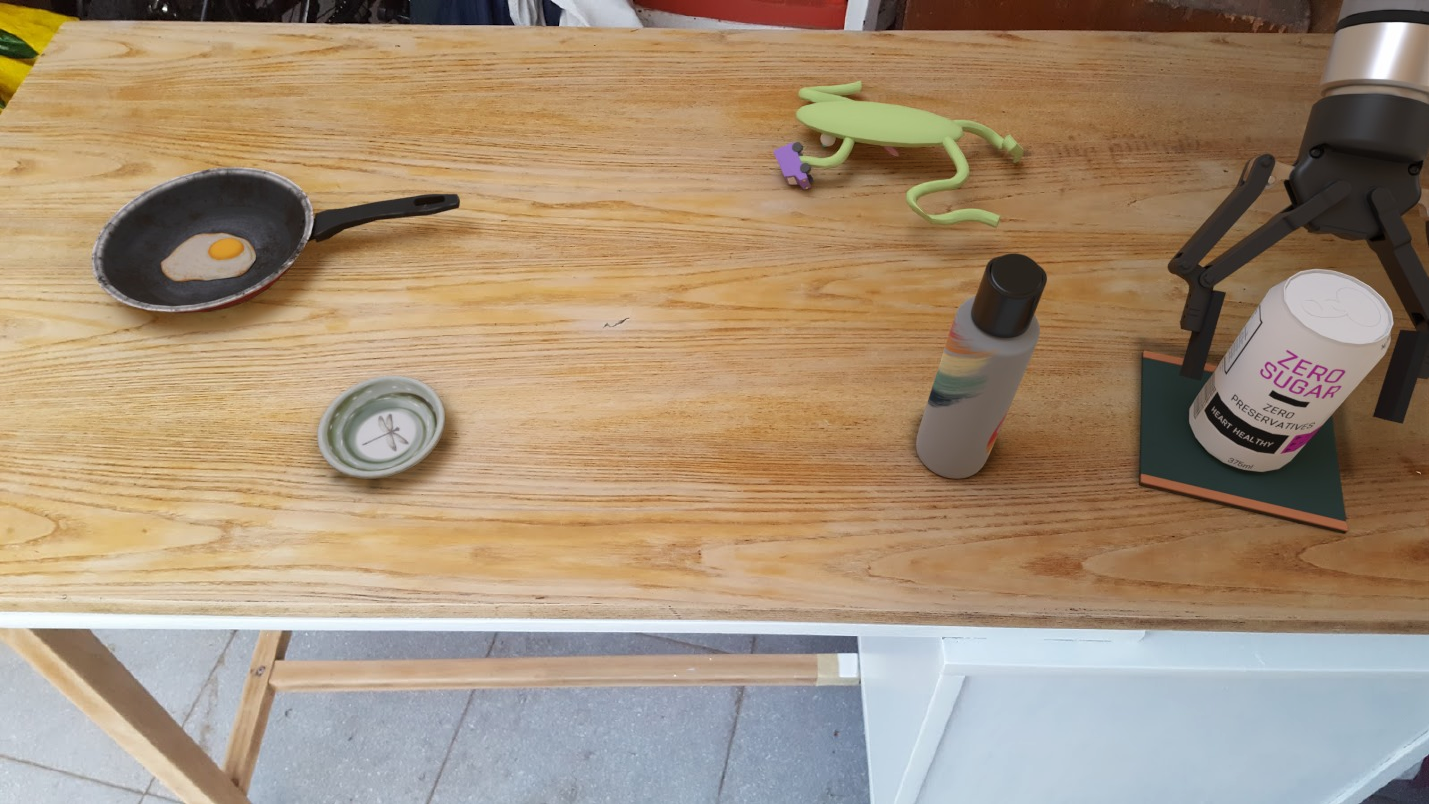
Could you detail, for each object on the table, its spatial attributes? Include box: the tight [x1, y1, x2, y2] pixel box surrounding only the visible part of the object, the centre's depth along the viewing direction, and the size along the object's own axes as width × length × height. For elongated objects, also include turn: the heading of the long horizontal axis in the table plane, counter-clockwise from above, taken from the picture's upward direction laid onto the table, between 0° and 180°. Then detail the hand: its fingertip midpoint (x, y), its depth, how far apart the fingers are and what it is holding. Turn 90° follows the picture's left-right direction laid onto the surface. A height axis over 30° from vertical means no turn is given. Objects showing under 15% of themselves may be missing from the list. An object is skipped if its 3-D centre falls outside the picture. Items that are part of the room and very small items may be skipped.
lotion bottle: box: [915, 252, 1048, 480], centre depth 67 cm, size 6×6×20 cm
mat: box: [1138, 350, 1349, 534], centre depth 76 cm, size 15×14×1 cm
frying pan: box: [90, 166, 461, 315], centre depth 87 cm, size 19×32×4 cm, turn 102°
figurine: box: [773, 79, 1025, 229], centre depth 94 cm, size 18×27×6 cm
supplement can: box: [1189, 268, 1395, 472], centre depth 70 cm, size 8×8×15 cm
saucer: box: [316, 375, 446, 480], centre depth 74 cm, size 10×10×2 cm
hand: (1286, 399), depth 69 cm, fingers open, 13 cm apart
